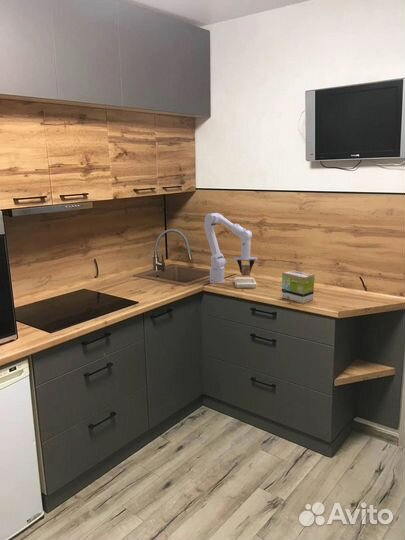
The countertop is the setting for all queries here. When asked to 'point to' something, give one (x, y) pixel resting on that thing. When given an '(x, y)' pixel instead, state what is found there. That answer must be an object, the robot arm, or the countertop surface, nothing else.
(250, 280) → the white tray
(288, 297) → the tea box
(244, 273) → the walnut block
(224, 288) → the countertop surface
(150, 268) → the countertop surface
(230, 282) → the countertop surface
